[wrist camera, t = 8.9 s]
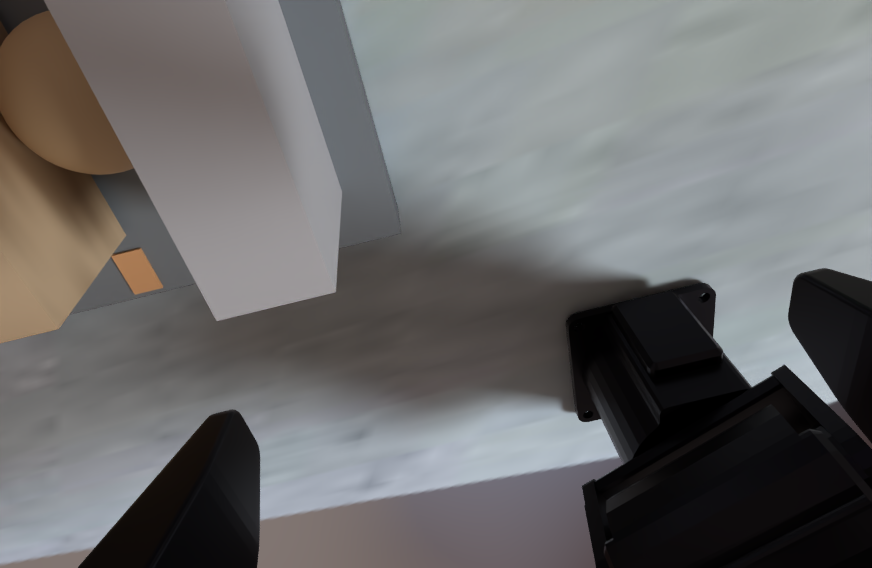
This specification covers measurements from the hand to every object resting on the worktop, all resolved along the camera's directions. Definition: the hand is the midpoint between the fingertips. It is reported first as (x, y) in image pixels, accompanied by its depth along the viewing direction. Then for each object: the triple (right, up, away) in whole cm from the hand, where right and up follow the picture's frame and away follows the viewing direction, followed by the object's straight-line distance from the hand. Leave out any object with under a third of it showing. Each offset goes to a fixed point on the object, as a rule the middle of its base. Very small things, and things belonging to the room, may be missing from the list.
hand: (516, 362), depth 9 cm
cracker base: (-16, +7, +9) cm, 20 cm away
